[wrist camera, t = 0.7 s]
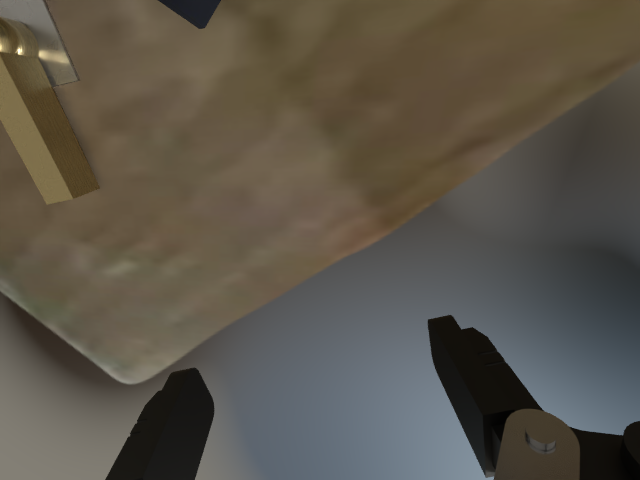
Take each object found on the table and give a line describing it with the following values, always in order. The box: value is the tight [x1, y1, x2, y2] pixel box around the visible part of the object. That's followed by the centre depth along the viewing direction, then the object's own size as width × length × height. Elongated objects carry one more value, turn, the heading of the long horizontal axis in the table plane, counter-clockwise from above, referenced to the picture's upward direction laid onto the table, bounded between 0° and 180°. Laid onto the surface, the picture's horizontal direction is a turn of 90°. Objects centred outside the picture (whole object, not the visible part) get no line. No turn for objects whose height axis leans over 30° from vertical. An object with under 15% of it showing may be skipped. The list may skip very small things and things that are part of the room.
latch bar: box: [0, 16, 100, 204], centre depth 28 cm, size 15×4×4 cm, turn 12°
